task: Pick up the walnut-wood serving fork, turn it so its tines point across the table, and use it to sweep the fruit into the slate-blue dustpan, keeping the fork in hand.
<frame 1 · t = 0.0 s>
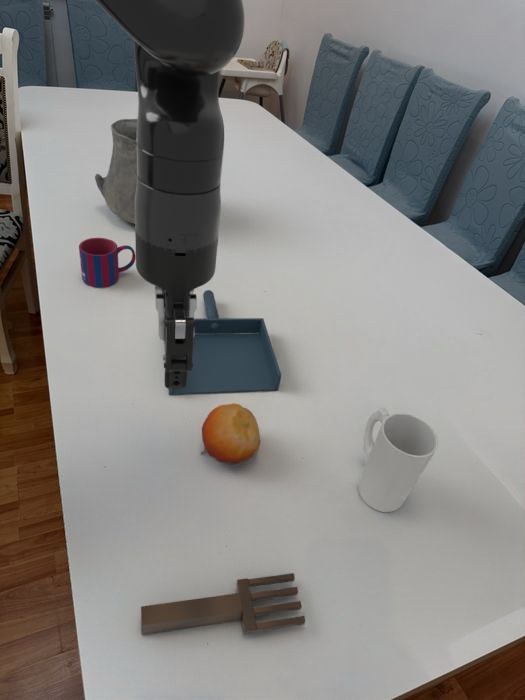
hand: (172, 359, 55), 17 cm above the table, tool pointing down, fingers open, 8 cm apart
vessel: (148, 218, 117), on the table
mug: (373, 483, 68), on the table
dustpan: (219, 362, 82), on the table
fruit: (228, 451, 68), on the table
fork: (191, 618, 51), on the table
cup: (109, 278, 96), on the table
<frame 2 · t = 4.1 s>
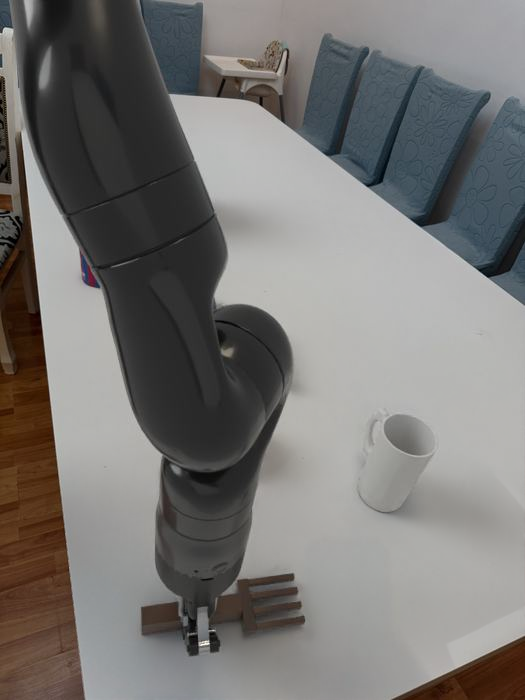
hand: (191, 617, 51), 0 cm above the table, tool pointing down, fingers closed on fork, 2 cm apart
fork: (191, 618, 51), on the table, touching gripper
everything else where it was.
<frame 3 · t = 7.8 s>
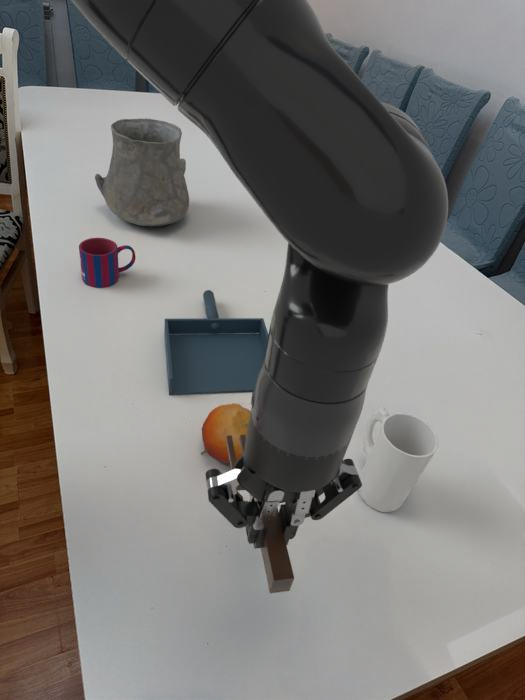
hand: (268, 537, 47), 12 cm above the table, tool pointing down, fingers closed on fork
fork: (268, 538, 47), point 11 cm above the table, touching gripper
everything else where it was.
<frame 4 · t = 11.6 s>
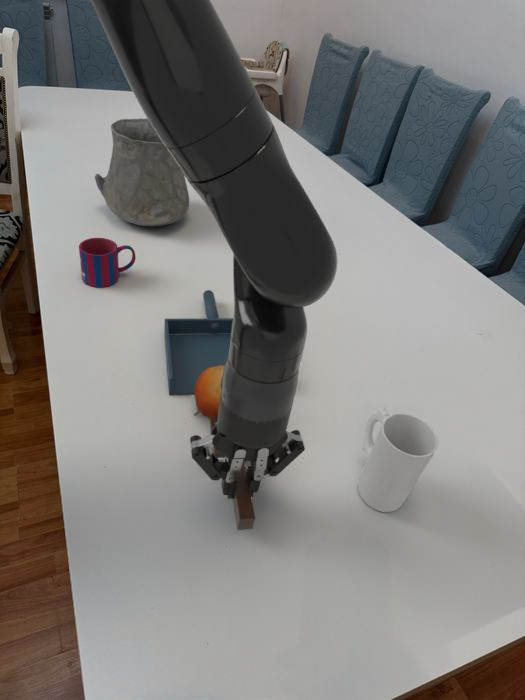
hand: (239, 491, 62), 2 cm above the table, tool pointing down, fingers closed on fork, 2 cm apart
fruit: (219, 410, 74), on the table, touching dustpan, fork
fork: (238, 492, 62), point 1 cm above the table, touching fruit, gripper
everything else where it was.
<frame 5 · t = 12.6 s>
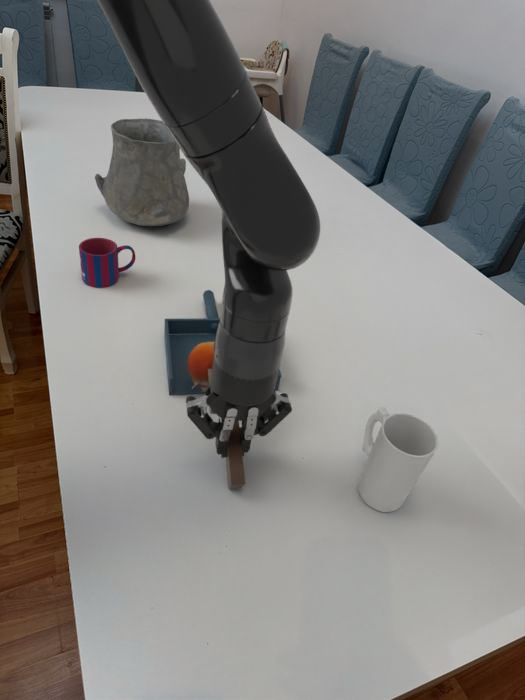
hand: (231, 451, 66), 2 cm above the table, tool pointing down, fingers closed on fork, 1 cm apart
fruit: (218, 388, 72), point 3 cm above the table, touching dustpan
fork: (231, 450, 66), point 2 cm above the table, tilted 22°, touching gripper
everything else where it was.
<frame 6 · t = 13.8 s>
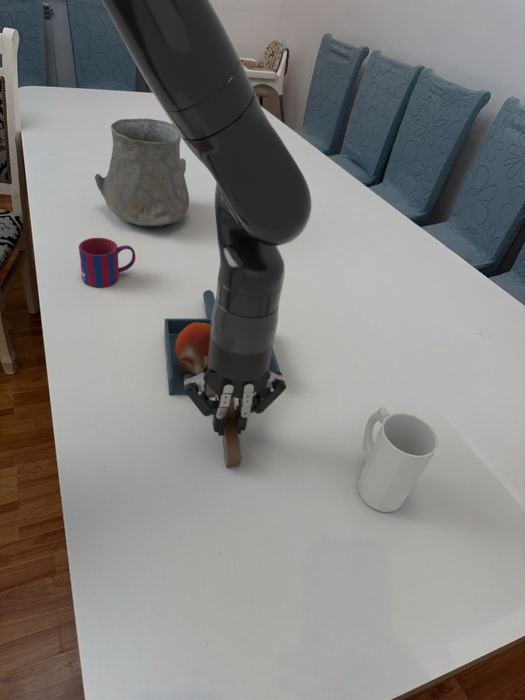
hand: (228, 430, 69), 2 cm above the table, tool pointing down, fingers closed on fork, 2 cm apart
fruit: (204, 354, 73), point 6 cm above the table, touching dustpan, fork
fork: (228, 431, 69), point 1 cm above the table, tilted 17°, touching fruit, gripper
everything else where it was.
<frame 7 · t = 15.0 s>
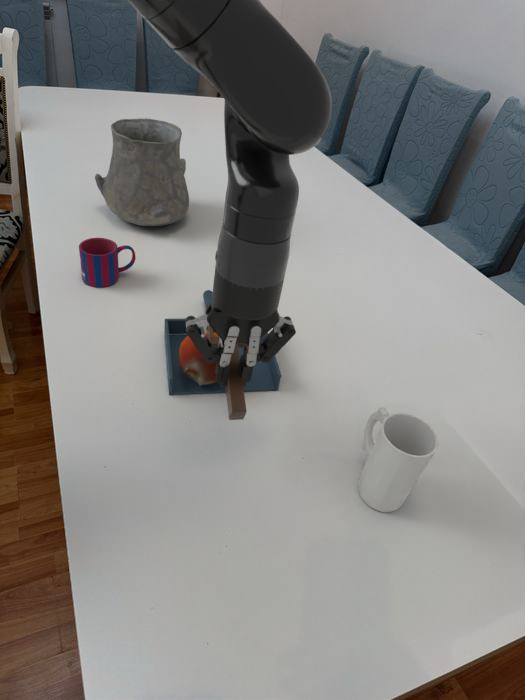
hand: (232, 381, 64), 10 cm above the table, tool pointing down, fingers closed on fork
fruit: (209, 369, 73), point 5 cm above the table, touching dustpan
fork: (231, 384, 64), point 10 cm above the table, tilted 18°, touching gripper
everything else where it was.
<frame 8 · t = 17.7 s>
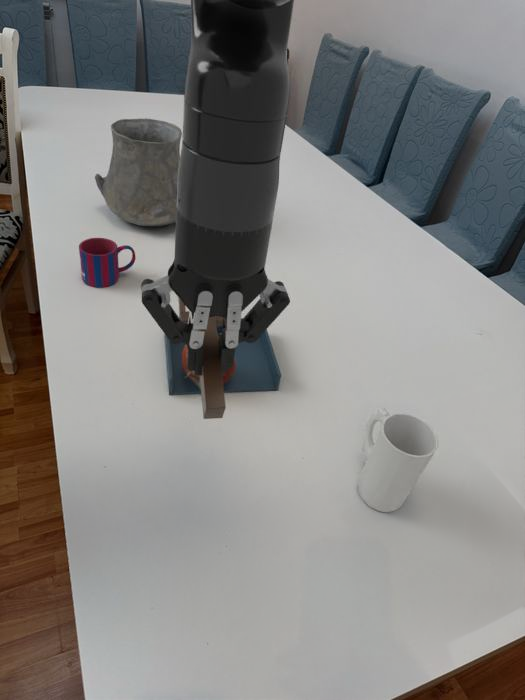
hand: (209, 369, 49), 21 cm above the table, tool pointing down, fingers closed on fork
fruit: (211, 377, 73), point 4 cm above the table, touching dustpan
fork: (208, 372, 49), point 21 cm above the table, tilted 18°, touching gripper
everything else where it was.
at the end: fruit inside the target area in the dustpan (8.1 cm from its centre), point 4.1 cm above the dustpan's base; the gripper is holding fork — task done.
